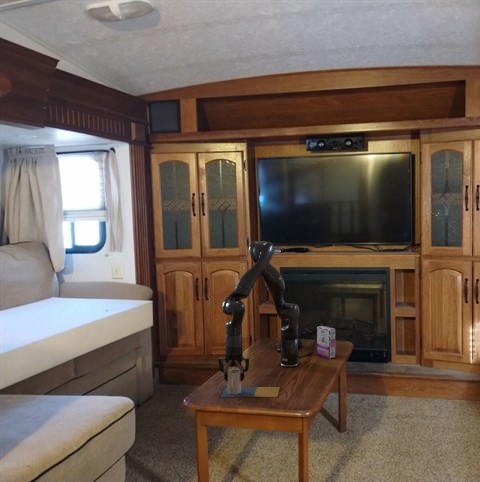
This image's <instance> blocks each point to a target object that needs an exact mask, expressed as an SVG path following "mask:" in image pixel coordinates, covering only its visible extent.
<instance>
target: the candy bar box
mask: <svg viewBox="0 0 480 482" xmlns="http://www.w3.org/2000/svg"><path fill="white" fill-rule="evenodd" d="M336 339H337V338H336V328H333V327H330V326H327V325H320V326H317V327H316V340H317V342H316V355H317V356H320V357H323V358H326V359H329V360H330V359H334V358H336V354H337V353H336Z"/></svg>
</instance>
